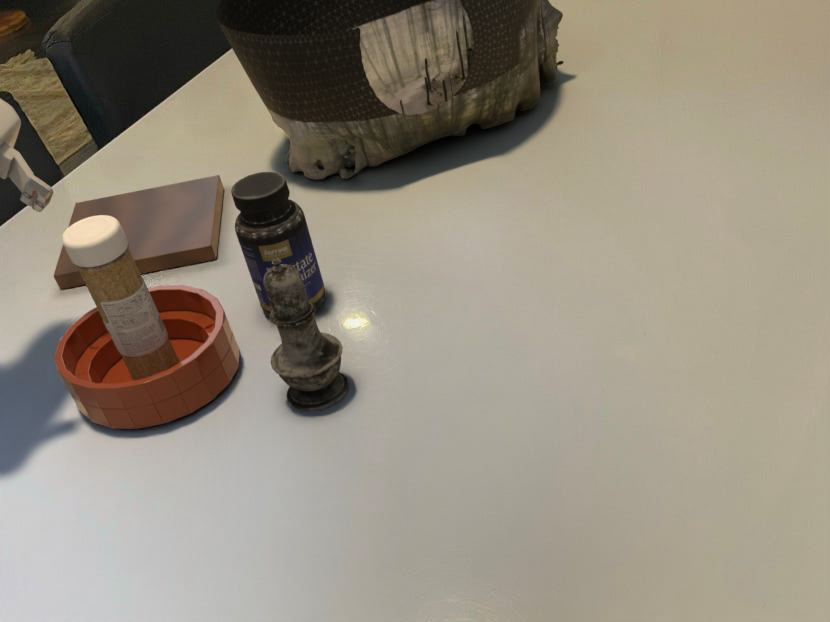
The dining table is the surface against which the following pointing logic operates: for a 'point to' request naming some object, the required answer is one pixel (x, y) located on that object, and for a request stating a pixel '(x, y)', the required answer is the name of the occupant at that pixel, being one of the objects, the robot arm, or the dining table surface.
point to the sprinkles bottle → (120, 294)
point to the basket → (389, 71)
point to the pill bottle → (274, 234)
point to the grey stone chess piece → (302, 343)
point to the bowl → (163, 392)
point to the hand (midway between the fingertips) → (21, 233)
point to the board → (157, 226)
